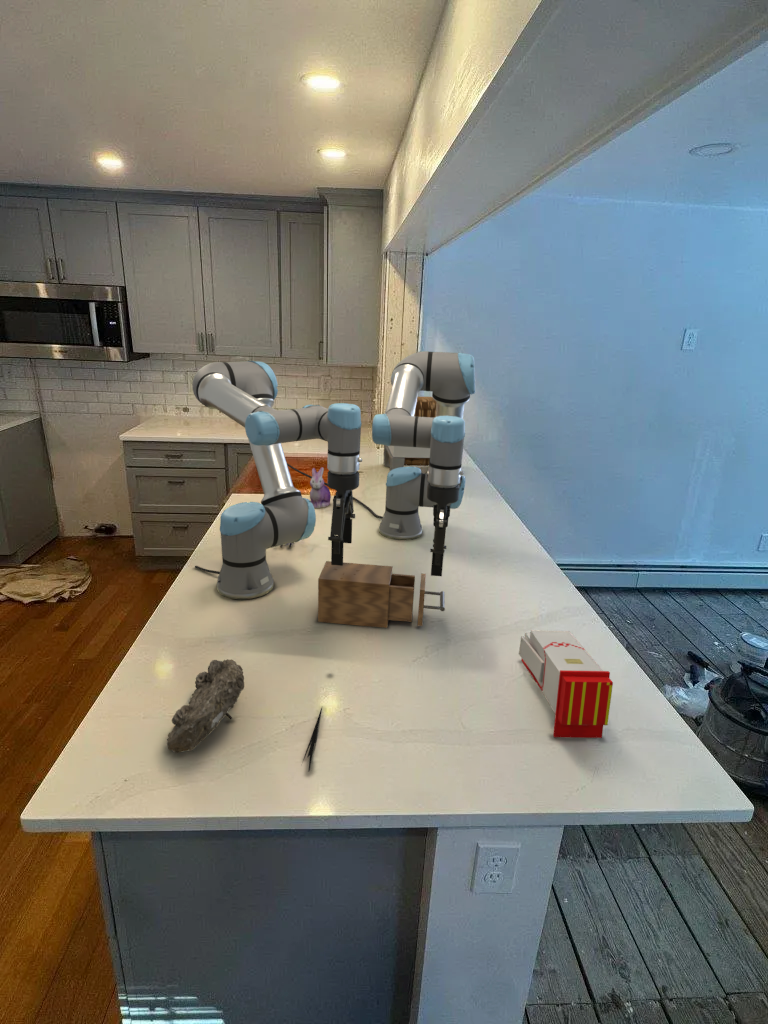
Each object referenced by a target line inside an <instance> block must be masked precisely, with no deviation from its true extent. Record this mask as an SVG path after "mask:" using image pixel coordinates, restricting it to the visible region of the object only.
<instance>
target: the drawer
mask: <svg viewBox="0 0 768 1024" xmlns="http://www.w3.org/2000/svg"><path fill="white" fill-rule="evenodd" d="M426 579H427V573H420V585H419V596H418V597H419V598H418V614H417V627H423V621H424V610H425V609H428V610H437V611H440V612H444V611H446V596H445V595H446V594H445V591H443V590H441V591H427V590H426ZM415 582H416V575H415V574H414V575H413V574H402V573H392V576H391V581H390V588H389V607H388V621H397V622H398V621H399V622H408V623H409V622H410V623H412V622H413V612H414V600H415V599H414V596H415V584H416V583H415ZM426 595H431V596H439V606H438V605H428V604H426V605H425V596H426Z"/></svg>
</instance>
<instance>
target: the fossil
mask: <svg viewBox="0 0 768 1024" xmlns="http://www.w3.org/2000/svg"><path fill="white" fill-rule="evenodd" d="M243 670H244V669H243V667H242V665H240V664H237V662H236V661H235V660H234V659H232V658H231V659H227V658H226V659H224V660H223V661H222V660H217V659H212V660H211V661H210V663H209V665H208V666H207V671H201V672H199V673H198V674H197V675H196V676H195V680H194V684H195V685H194V687H195V689H194V690H193V693H192V694H191V697H190V698H189V700H188V704H184V705H182V706H181V707H180V709H177V710H176V711H175V713H174V715H173V716H172V718H171V723H172V724H173V727H172V730H171V731H170V732H168V734H167V738H166V741H167V742H166V745H167V749H168V750H169V751H173V752H174V753H176V754H178V753H182V752H188V751H189V752H192V751H193V750H195V748H196V747H197V746H199V744H200V743H201V742H203V741H204V740H205V739H206V738H207V737H208V736H209V735H210V734H211V733H212V732H214V730H215V729H217V727H218V726H219V724H220V722H221V721H222V720H223V719H224V718H225V716H226V717H227V719H229V720H233V717H232V715H230V714H229V710H230V709H231V708H234V706H235V704H236V703H237V702H238V699H239V697H240V695H241V693H242V691H243V690H245V689H244V688H245V675H244V671H243Z"/></svg>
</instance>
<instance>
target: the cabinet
mask: <svg viewBox="0 0 768 1024" xmlns="http://www.w3.org/2000/svg"><path fill="white" fill-rule="evenodd" d="M393 570H394V566H393V565H391V566H390V565H378V564H366V563H356V562H355V563H354V562H344V561H343V566H340V565H331V560H330V561H329V560H326V561H325V562H324V565H323V567H322V570H321V571H320V574H319V577H318V579H317V622H318V623H325V624H326V623H328V624H336V625H337V624H341V625H351V626H352V625H353V626H359V627H360V626H361V627H373V628H382V629H384V628H385V629H387V628H388V625H389V620H388V607H389V588H390V581H391V576H392V574H394V573H393Z"/></svg>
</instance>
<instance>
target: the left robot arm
mask: <svg viewBox="0 0 768 1024" xmlns="http://www.w3.org/2000/svg"><path fill="white" fill-rule="evenodd" d="M278 385H279V384H278V380H277V376H276V374H275V372H274V371H273V368H271V367H270V365H268V363H266V362H264V361H256V360H247V361H214V362H210V363H207V364H205V365H203V366H202V367H200V368H199V369H198V371H197V372H196V373H195V374H194V376H193V379H192V393H193V395H194V397H195V398H196V400H197V401H198V402H199V403H200V404H202V406H204V407H206V408H207V409H211V410H217V411H219V412H220V413H222V414H223V415H225V417H226V416H227V418H228V419H229V418H230V419H231V420H233V421H234V422H235V423H237V424H239V426H241V427H243V428H244V429H245V434H246V435H245V436H246V437H247V440H248V443H249V446H250V450H251V453H252V457H253V460H254V464H255V468H256V471H257V474H258V478H259V482H260V485H261V488H262V492H263V497H262V498H261V500H260V502H257V501H248V502H247V501H244V502H238V503H235V504H232V505H230V506H228V507H227V508H225V509H224V510H223V511H222V513H221V514H220V518H219V522H220V523H219V532H220V545H221V559H222V563H221V567H220V569H219V570H212V569H207V568H204V567H201V566H199V565H194V568H195V569H197V570H199V571H202V572H205V573H209V574H216V575H218V577H217V581H216V590H217V592H218V593H219V595H220V596H222V597H224V598H227V599H231V600H243V601H244V600H252V599H256V598H260V597H263V596H265V595H267V594H268V593H270V592H271V591H272V590H273V588H274V576H273V575H272V572H271V570H270V566H269V564H268V561H267V550H269V549H271V548H276V547H280V545H283V546H284V545H289V544H288V543H292V542H294V543H298V542H300V541H303V540H306V539H308V538H310V537H311V536H312V535H313V533H314V531H315V527H316V522H317V518H316V517H317V515H316V510H315V509H316V508H314V506H313V504H312V503H311V502H310V501H311V499H310V498H306V497H303V495H302V492H301V490H299V489H298V488H296V487H295V486H294V484H293V480H292V476H291V473H290V469H289V466H288V465H287V463H288V462H287V459H286V456H285V455H286V454H285V452H284V449H283V445H282V444H285V443H294V442H301V441H303V442H304V441H309V440H310V441H311V440H321V441H325V442H326V443H327V461H326V462H327V466H326V467H327V470H328V471H327V481H326V483H327V484H328V486H327V487H328V488H329V489H332V490H335V494H333V499H332V513H331V523H330V534H329V536H327V540H328V541H331V546H330V547H331V554H330V555H331V556H330V559H331V560H330V561H331V565H340V566H343V562H344V544H352V543H353V519H356V513H354V512H355V510H354V500H353V497H354V495H353V491H354V490H356V489H358V488H359V486H360V471H359V470H360V463H362V462H363V459H362V457H360V455H361V454H360V453H361V433H362V432H361V431H362V415H361V413H362V412H361V408H360V407H359V405H357V404H354V403H347V402H344V403H343V402H339V403H338V402H337V403H332V404H330V405H329V406H328V408H327V407H324V406H322V405H320V404H305V405H304V406H302V407H301V408H300V407H299V408H290V409H289V408H288V409H276V408H274V407H273V406H274V405H275V400H276V398H277V396H278V394H279V393H278V392H279V390H278ZM292 544H293V543H292Z"/></svg>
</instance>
